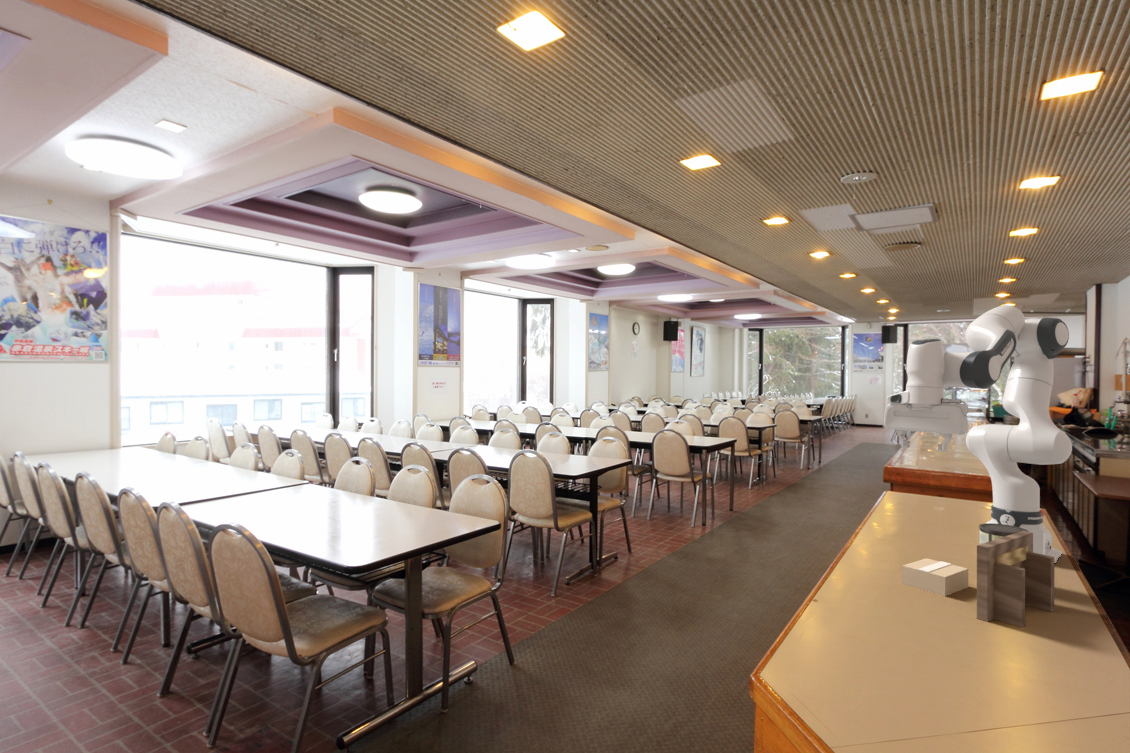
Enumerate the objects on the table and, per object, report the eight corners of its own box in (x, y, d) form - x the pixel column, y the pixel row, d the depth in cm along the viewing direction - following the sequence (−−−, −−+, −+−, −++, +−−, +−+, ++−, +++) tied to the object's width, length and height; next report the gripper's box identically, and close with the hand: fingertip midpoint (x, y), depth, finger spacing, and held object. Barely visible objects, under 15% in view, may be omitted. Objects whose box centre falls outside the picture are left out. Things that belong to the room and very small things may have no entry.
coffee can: (1014, 576, 152) (1014, 524, 152) (1038, 590, 142) (1038, 534, 142) (971, 574, 154) (971, 522, 154) (991, 587, 144) (991, 531, 144)
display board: (1020, 596, 138) (1020, 530, 138) (1059, 606, 132) (1059, 537, 132) (974, 617, 125) (974, 545, 125) (1014, 630, 119) (1014, 553, 119)
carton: (926, 576, 152) (926, 557, 153) (968, 588, 144) (968, 567, 144) (902, 585, 146) (902, 564, 146) (945, 597, 138) (945, 576, 138)
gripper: (973, 399, 148) (972, 452, 147) (893, 397, 165) (892, 445, 165) (962, 399, 144) (960, 453, 144) (881, 396, 162) (880, 445, 161)
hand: (923, 449), depth 154 cm, fingers open, 8 cm apart
